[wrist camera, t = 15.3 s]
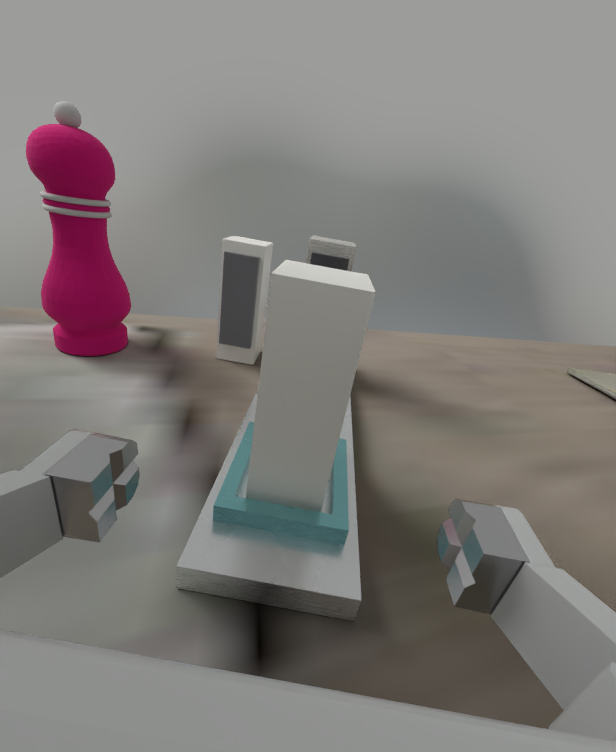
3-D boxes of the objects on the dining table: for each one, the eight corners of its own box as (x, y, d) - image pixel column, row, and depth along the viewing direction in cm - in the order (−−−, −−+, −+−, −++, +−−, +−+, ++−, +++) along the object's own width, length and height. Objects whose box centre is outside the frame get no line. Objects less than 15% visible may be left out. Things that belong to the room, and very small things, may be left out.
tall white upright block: (245, 503, 18) (271, 273, 13) (262, 450, 23) (287, 258, 17) (319, 517, 18) (375, 292, 13) (323, 461, 23) (367, 272, 17)
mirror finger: (214, 360, 37) (220, 239, 31) (227, 345, 41) (234, 235, 36) (251, 367, 37) (264, 247, 31) (260, 351, 41) (273, 242, 36)
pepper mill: (72, 327, 38) (41, 102, 29) (142, 335, 39) (132, 121, 31) (32, 354, 32) (-23, 75, 23) (117, 362, 33) (95, 100, 24)
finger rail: (176, 587, 16) (175, 283, 10) (277, 354, 41) (294, 230, 35) (353, 621, 16) (460, 336, 10) (345, 366, 41) (373, 244, 35)
